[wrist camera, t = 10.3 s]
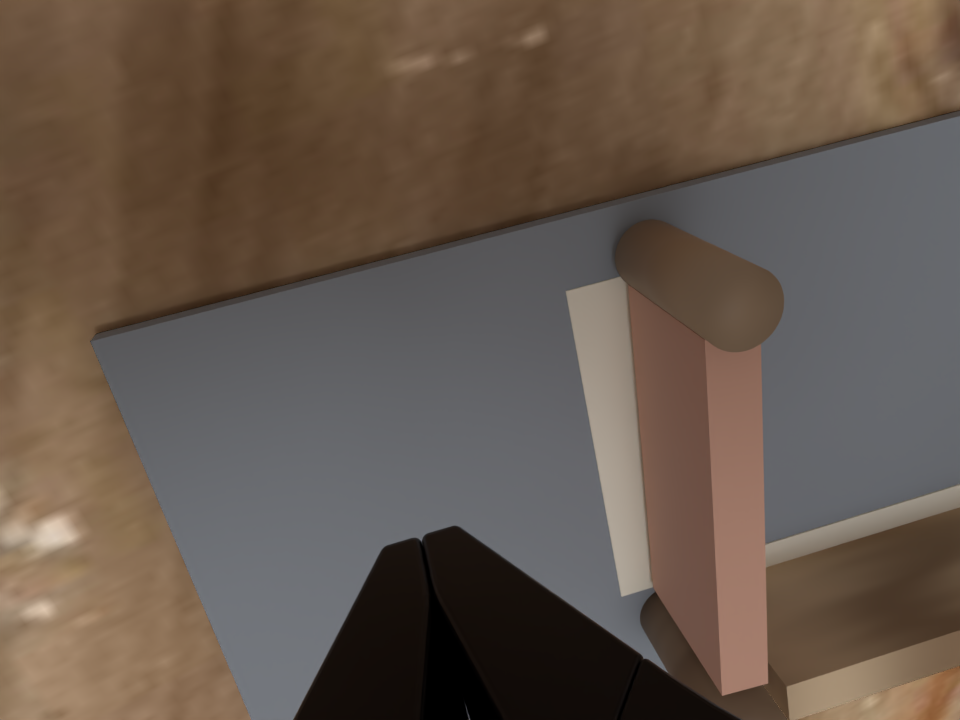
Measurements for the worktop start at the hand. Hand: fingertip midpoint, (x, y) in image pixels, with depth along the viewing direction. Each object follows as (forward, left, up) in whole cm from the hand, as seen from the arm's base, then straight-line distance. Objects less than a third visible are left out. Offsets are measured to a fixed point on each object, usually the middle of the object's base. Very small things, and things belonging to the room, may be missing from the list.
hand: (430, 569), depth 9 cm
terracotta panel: (-6, +4, -10) cm, 12 cm away
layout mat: (-6, +6, -11) cm, 13 cm away
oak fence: (-11, +11, -10) cm, 18 cm away
